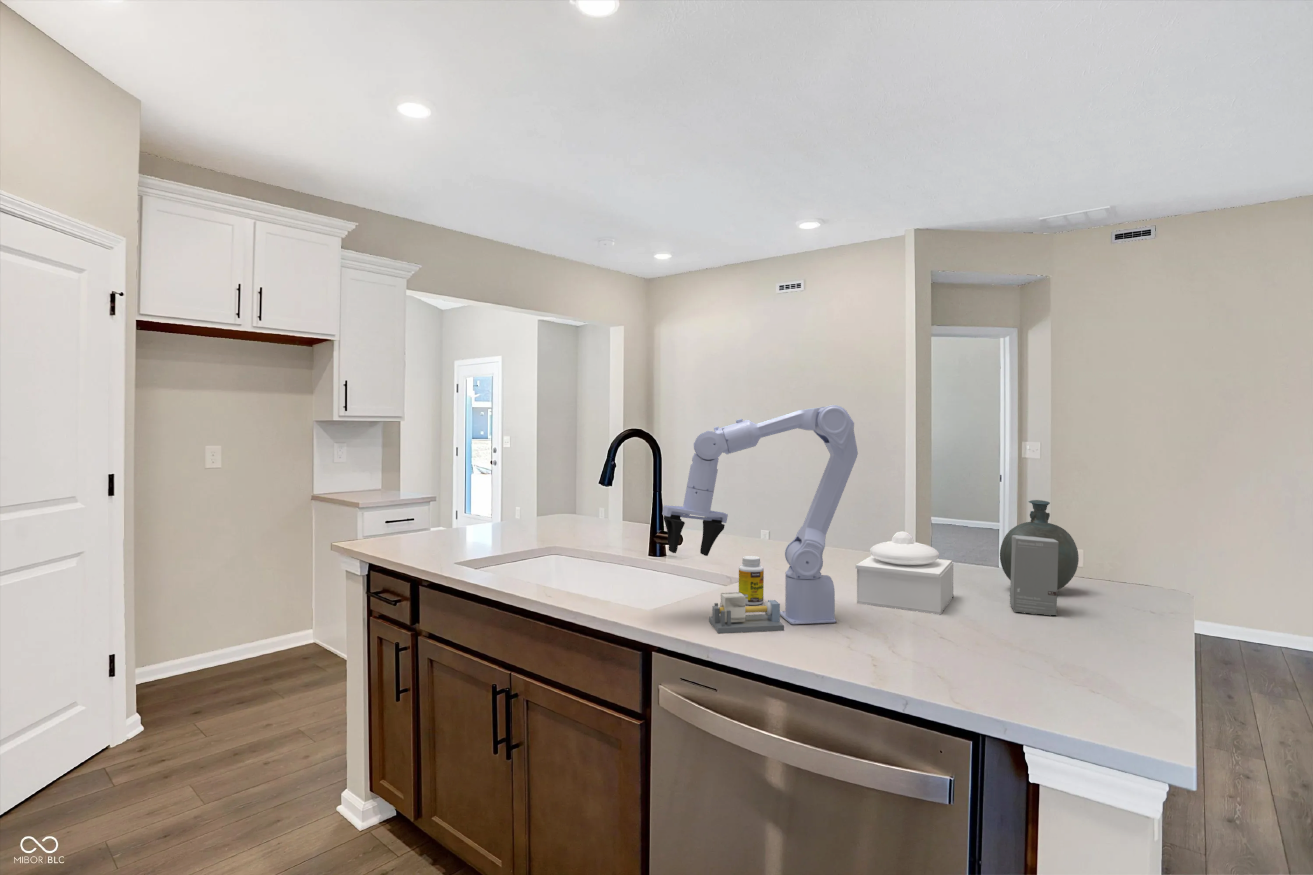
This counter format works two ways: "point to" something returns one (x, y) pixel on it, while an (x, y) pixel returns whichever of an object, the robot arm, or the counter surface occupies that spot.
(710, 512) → the robot arm
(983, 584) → the counter surface
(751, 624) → the linear actuator
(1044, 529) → the flask
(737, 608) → the sleeve
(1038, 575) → the skincare box
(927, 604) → the white lidded box
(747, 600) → the supplement bottle
